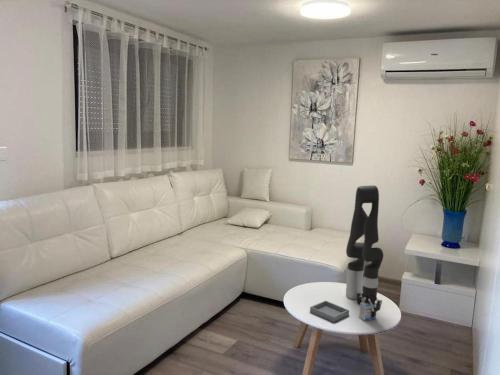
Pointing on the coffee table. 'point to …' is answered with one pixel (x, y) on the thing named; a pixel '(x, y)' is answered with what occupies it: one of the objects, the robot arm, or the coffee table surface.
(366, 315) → the medicine box
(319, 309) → the tray
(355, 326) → the coffee table surface
